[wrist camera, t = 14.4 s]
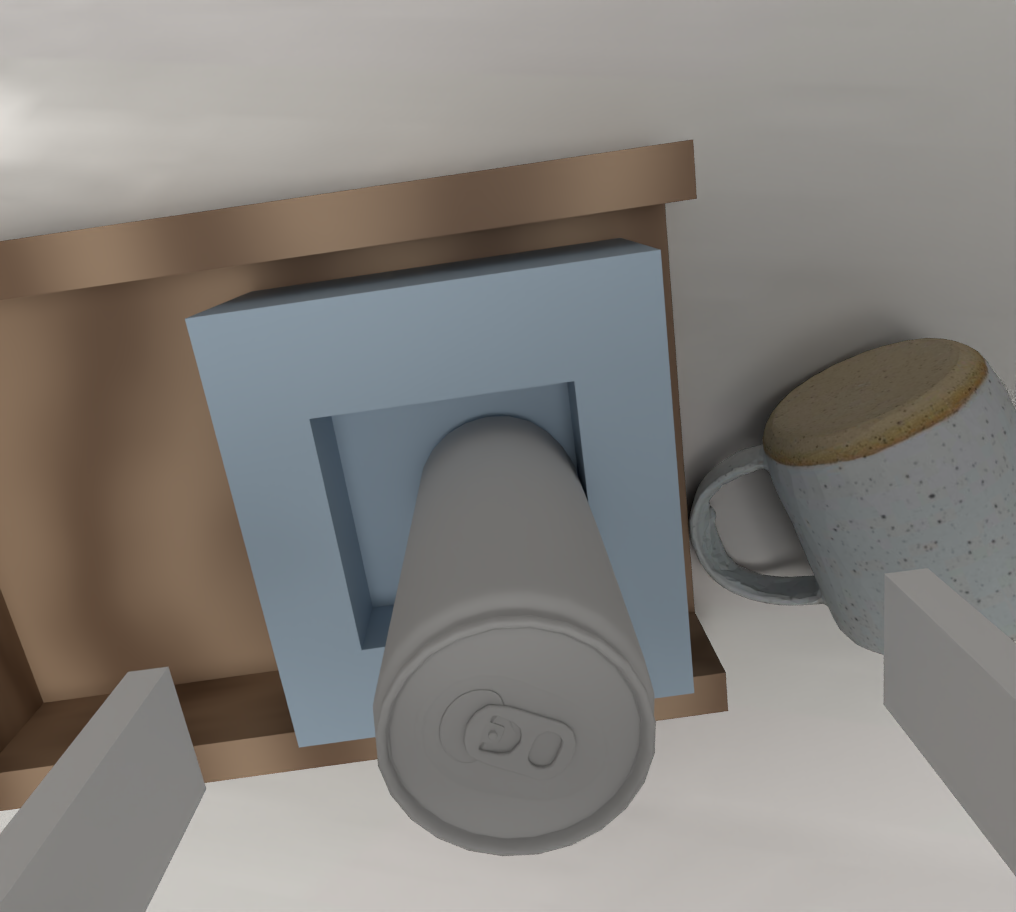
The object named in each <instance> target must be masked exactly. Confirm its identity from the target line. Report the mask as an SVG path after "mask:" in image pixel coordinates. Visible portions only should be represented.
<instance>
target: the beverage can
mask: <svg viewBox="0 0 1016 912" xmlns="http://www.w3.org/2000/svg"><path fill="white" fill-rule="evenodd" d="M654 697H655V694H654V690H653V687H652V683H651V680H650V676H649V673H648V669H647V666H646V663H645V659H644V656H643V653H642V650H641V648H640V645H639V642H638V639H637V636H636V633H635V631H634V628H633V625H632V622H631V619H630V616H629V614H628V611H627V608H626V605H625V602H624V599H623V597H622V594H621V591H620V588H619V585H618V582H617V580H616V577H615V574H614V571H613V568H612V565H611V563H610V560H609V557H608V554H607V552H606V549H605V546H604V543H603V541H602V538H601V535H600V532H599V530H598V527H597V524H596V522H595V519H594V517H593V514H592V511H591V509H590V506H589V504H588V501H587V498H586V496H585V493H584V491H583V488H582V485H581V483H580V480H579V477H578V475H577V472H576V469H575V467H574V464H573V463H572V461H571V459H570V458H569V456H568V455H567V453H566V451H565V450H564V448H563V447H562V446H561V445H560V444H559V443H558V442H557V441H556V440H555V439H554V438H553V437H552V436H551V435H550V434H549V433H548V432H547V431H545V430H543V429H542V428H540V427H539V426H537V425H535V424H534V423H532V422H530V421H527V420H523V419H519V418H515V417H511V416H494V417H484V418H481V419H478V420H474V421H471V422H468V423H465V424H463V425H462V426H460V427H458V428H457V429H455V430H454V431H452V432H450V433H449V434H447V435H446V436H445V437H444V438H443V439H442V440H441V442H440V443H439V444H438V445H437V446H436V447H435V448H434V449H433V450H432V452H431V454H430V456H429V458H428V460H427V462H426V464H425V465H424V467H423V471H422V476H421V481H420V486H419V490H418V495H417V500H416V504H415V509H414V514H413V518H412V523H411V528H410V532H409V537H408V542H407V547H406V551H405V556H404V561H403V565H402V570H401V575H400V579H399V584H398V589H397V594H396V598H395V603H394V608H393V612H392V617H391V622H390V626H389V631H388V636H387V640H386V645H385V650H384V655H383V659H382V664H381V669H380V673H379V678H378V683H377V688H376V692H375V697H374V702H373V715H374V726H375V737H376V748H377V758H378V767H379V769H380V771H381V773H382V776H383V778H384V780H385V783H386V785H387V787H388V790H389V792H390V794H391V796H392V797H393V798H394V799H395V801H396V802H397V803H398V804H399V805H400V807H401V808H402V809H403V810H404V811H405V813H406V814H407V815H408V816H409V817H410V819H411V820H413V821H414V822H416V823H417V824H418V825H420V826H421V827H423V828H424V829H425V830H427V831H428V832H430V833H431V834H433V835H434V836H435V837H437V838H439V839H441V840H444V841H446V842H449V843H451V844H454V845H456V846H459V847H461V848H464V849H466V850H469V851H474V852H481V853H487V854H493V855H500V856H514V855H534V854H541V853H544V852H548V851H552V850H556V849H559V848H563V847H567V846H571V845H573V844H575V843H577V842H579V841H581V840H582V839H584V838H586V837H588V836H590V835H592V834H594V833H596V832H598V831H600V830H602V829H603V828H604V827H605V826H606V825H607V824H609V823H610V822H611V821H612V820H613V819H614V818H616V817H617V816H618V815H619V814H620V813H622V812H623V811H624V810H625V809H626V808H627V806H628V805H629V804H630V802H631V801H632V799H633V798H634V797H635V795H636V794H637V792H638V791H639V789H640V788H641V787H642V785H643V784H644V782H645V779H646V776H647V773H648V771H649V768H650V765H651V762H652V759H653V756H654V753H655V726H656V721H655V717H654Z"/></svg>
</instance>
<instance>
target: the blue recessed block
mask: <svg viewBox="0 0 1016 912" xmlns="http://www.w3.org/2000/svg"><path fill="white" fill-rule="evenodd" d="M185 321H186V325H187V329H188V333H189V336H190V340H191V344H192V348H193V351H194V355H195V359H196V363H197V366H198V370H199V374H200V378H201V381H202V385H203V389H204V393H205V396H206V400H207V404H208V408H209V411H210V415H211V419H212V423H213V426H214V430H215V434H216V438H217V441H218V445H219V449H220V453H221V456H222V460H223V464H224V468H225V471H226V475H227V479H228V483H229V486H230V490H231V494H232V498H233V502H234V505H235V509H236V513H237V517H238V520H239V524H240V528H241V532H242V535H243V539H244V543H245V547H246V550H247V554H248V558H249V562H250V565H251V569H252V573H253V577H254V580H255V584H256V588H257V592H258V595H259V599H260V603H261V607H262V610H263V614H264V618H265V622H266V625H267V629H268V633H269V637H270V640H271V644H272V648H273V652H274V656H275V659H276V663H277V667H278V671H279V674H280V678H281V682H282V686H283V689H284V693H285V697H286V701H287V704H288V708H289V712H290V716H291V719H292V723H293V727H294V731H295V734H296V738H297V742H298V746H299V747H306V746H314V745H321V744H328V743H336V742H343V741H350V740H357V739H365V738H372V737H375V726H374V715H373V702H374V697H375V692H376V688H377V683H378V678H379V673H380V669H381V664H382V659H383V655H384V650H385V645H386V640H387V636H388V631H389V626H390V622H391V617H392V612H393V608H394V603H395V598H396V594H397V589H398V584H399V579H400V575H401V570H402V565H403V561H404V556H405V551H406V547H407V542H408V537H409V532H410V528H411V523H412V518H413V514H414V509H415V504H416V500H417V495H418V490H419V486H420V481H421V476H422V471H423V467H424V465H425V464H426V462H427V460H428V458H429V456H430V454H431V452H432V450H433V449H434V448H435V447H436V446H437V445H438V444H439V443H440V442H441V440H442V439H443V438H444V437H445V436H446V435H447V434H449V433H450V432H452V431H454V430H455V429H457V428H458V427H460V426H462V425H463V424H465V423H468V422H471V421H474V420H478V419H481V418H484V417H494V416H511V417H515V418H519V419H523V420H527V421H530V422H532V423H534V424H535V425H537V426H539V427H540V428H542V429H543V430H545V431H547V432H548V433H549V434H550V435H551V436H552V437H553V438H554V439H555V440H556V441H557V442H558V443H559V444H560V445H561V446H562V447H563V448H564V450H565V451H566V453H567V455H568V456H569V458H570V459H571V461H572V463H573V464H574V467H575V469H576V472H577V475H578V477H579V480H580V483H581V485H582V488H583V491H584V493H585V496H586V498H587V501H588V504H589V506H590V509H591V511H592V514H593V517H594V519H595V522H596V524H597V527H598V530H599V532H600V535H601V538H602V541H603V543H604V546H605V549H606V552H607V554H608V557H609V560H610V563H611V565H612V568H613V571H614V574H615V577H616V580H617V582H618V585H619V588H620V591H621V594H622V597H623V599H624V602H625V605H626V608H627V611H628V614H629V616H630V619H631V622H632V625H633V628H634V631H635V633H636V636H637V639H638V642H639V645H640V648H641V650H642V653H643V656H644V659H645V663H646V666H647V669H648V673H649V676H650V680H651V683H652V687H653V690H654V694H655V697H654V699H655V698H662V697H669V696H677V695H684V694H691V693H694V681H693V668H692V655H691V642H690V629H689V616H688V603H687V589H686V576H685V563H684V550H683V537H682V524H681V511H680V498H679V484H678V471H677V458H676V445H675V432H674V419H673V406H672V393H671V379H670V366H669V353H668V340H667V327H666V314H665V301H664V287H663V274H662V261H661V250H660V249H657V248H653V247H650V246H647V245H643V244H640V243H636V242H633V241H630V240H626V239H623V238H615V239H608V240H602V241H595V242H588V243H581V244H574V245H567V246H560V247H553V248H547V249H540V250H533V251H526V252H519V253H512V254H505V255H498V256H492V257H485V258H478V259H471V260H464V261H457V262H450V263H443V264H437V265H430V266H423V267H416V268H409V269H402V270H395V271H388V272H382V273H375V274H368V275H361V276H354V277H347V278H340V279H334V280H327V281H320V282H313V283H306V284H299V285H292V286H285V287H279V288H272V289H265V290H258V291H251V292H249V293H246V294H244V295H241V296H239V297H236V298H234V299H232V300H229V301H227V302H224V303H222V304H219V305H217V306H215V307H212V308H210V309H207V310H205V311H202V312H200V313H198V314H195V315H193V316H190V317H188V318H185Z"/></svg>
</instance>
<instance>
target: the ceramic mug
mask: <svg viewBox="0 0 1016 912" xmlns="http://www.w3.org/2000/svg"><path fill="white" fill-rule="evenodd" d="M762 439H763V444H762V445H758V446H755V447H752V448H747V449H743V450H741V451H738V452H736V453H735V454H733V455H731V456H730V457H728V458H727V459H725V460H724V461H722V462H720V463H719V464H717V465H716V466H715V467H714V468H713V469H712V470H711V471H710V472H709V473H708V474H707V475H706V476H705V477H704V479H703V480H702V482H701V483H700V485H699V486H698V489H697V491H696V494H695V497H694V501H693V505H692V509H691V513H690V520H689V527H690V536H691V540H692V544H693V547H694V549H695V551H696V554H697V556H698V559H699V561H700V563H701V564H702V566H703V567H704V569H705V570H706V571H707V573H708V574H709V575H710V576H711V577H712V578H713V579H714V580H715V581H716V582H717V583H718V584H720V585H721V586H722V587H724V588H726V589H727V590H729V591H731V592H733V593H735V594H738V595H740V596H742V597H745V598H748V599H751V600H755V601H759V602H763V603H769V604H777V605H811V604H825V605H827V606H828V607H829V609H830V611H831V614H832V616H833V618H834V620H835V622H836V624H837V625H838V627H839V629H840V630H841V631H842V632H843V633H844V634H845V635H847V636H848V637H849V638H850V639H851V640H852V641H853V642H854V643H856V644H857V645H859V646H861V647H864V648H866V649H868V650H871V651H874V652H877V653H880V654H883V655H884V575H885V574H886V573H894V572H901V571H909V570H917V569H924V568H928V569H929V570H930V571H932V572H933V573H934V574H935V575H936V576H937V577H939V578H940V579H941V580H942V581H943V582H944V583H946V584H947V585H948V586H949V587H950V588H952V589H953V590H954V591H955V592H956V593H957V594H959V595H960V596H961V597H962V598H963V599H964V600H966V601H967V602H968V603H969V604H970V605H971V606H973V607H974V608H975V609H976V610H977V611H979V612H980V613H981V614H982V615H983V616H984V617H986V618H987V619H988V620H989V621H990V622H991V623H993V624H994V625H995V626H996V627H997V628H998V629H1000V630H1001V631H1002V632H1003V633H1004V634H1006V635H1007V636H1008V637H1009V638H1010V639H1011V640H1013V641H1016V410H1015V408H1014V406H1013V403H1012V401H1011V399H1010V397H1009V394H1008V392H1007V390H1006V389H1005V387H1004V385H1003V384H1002V382H1001V380H1000V379H999V378H998V376H997V375H996V374H995V372H994V371H993V369H992V368H991V366H990V365H989V363H988V362H987V361H986V360H985V359H984V358H983V357H982V356H981V355H980V353H979V352H978V351H976V350H974V349H973V348H971V347H969V346H967V345H964V344H962V343H959V342H956V341H952V340H947V339H936V338H923V339H915V340H907V341H902V342H898V343H894V344H889V345H885V346H881V347H878V348H875V349H872V350H869V351H866V352H863V353H861V354H858V355H856V356H854V357H851V358H849V359H847V360H844V361H842V362H840V363H837V364H835V365H833V366H831V367H829V368H828V369H826V370H824V371H822V372H820V373H819V374H817V375H815V376H813V377H811V378H810V379H808V380H807V381H805V382H804V383H803V384H801V385H800V386H798V387H797V388H795V389H794V390H792V391H791V392H790V393H789V394H788V395H787V396H786V397H785V398H784V399H783V400H782V401H781V402H780V403H779V404H778V405H777V407H776V408H775V409H774V411H773V412H772V413H771V415H770V417H769V419H768V421H767V423H766V426H765V430H764V434H763V438H762ZM757 469H766V470H767V471H769V473H770V476H771V478H772V481H773V484H774V487H775V489H776V491H777V493H778V496H779V498H780V500H781V502H782V504H783V506H784V508H785V510H786V512H787V514H788V515H789V517H790V519H791V521H792V523H793V526H794V528H795V531H796V533H797V535H798V538H799V540H800V543H801V546H802V548H803V550H804V552H805V554H806V557H807V559H808V562H809V564H810V567H811V569H812V571H813V574H814V576H802V577H798V576H797V577H778V576H769V575H762V574H759V573H756V572H753V571H750V570H747V569H745V568H743V567H741V566H739V565H737V564H736V563H734V562H733V560H732V559H731V558H730V557H729V556H728V555H727V554H726V553H725V550H724V547H723V545H722V542H721V540H720V538H719V535H718V533H717V530H716V527H715V523H714V520H715V518H716V513H715V511H714V509H713V508H712V507H711V506H710V503H709V500H710V499H711V497H712V496H713V495H714V494H715V493H716V492H717V491H718V490H719V489H720V487H721V486H722V485H724V484H727V483H728V482H730V481H732V480H734V479H736V478H738V477H739V476H741V475H743V474H749V473H751V472H753V471H755V470H757Z"/></svg>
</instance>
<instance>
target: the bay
mask: <svg viewBox="0 0 1016 912" xmlns="http://www.w3.org/2000/svg"><path fill="white" fill-rule="evenodd" d="M690 199H697V195H696V179H695V163H694V146H693V140H687V141H680V142H673V143H666V144H659V145H653V146H646V147H639V148H632V149H625V150H619V151H612V152H605V153H598V154H591V155H585V156H578V157H571V158H564V159H557V160H551V161H544V162H537V163H530V164H523V165H516V166H510V167H503V168H496V169H489V170H482V171H476V172H469V173H462V174H455V175H448V176H442V177H435V178H428V179H421V180H414V181H408V182H401V183H394V184H387V185H380V186H374V187H367V188H360V189H353V190H346V191H340V192H333V193H326V194H319V195H312V196H305V197H299V198H292V199H285V200H278V201H271V202H265V203H258V204H251V205H244V206H237V207H231V208H224V209H217V210H210V211H203V212H197V213H190V214H183V215H176V216H169V217H163V218H156V219H149V220H142V221H135V222H129V223H122V224H115V225H108V226H101V227H94V228H88V229H81V230H74V231H67V232H60V233H54V234H47V235H40V236H33V237H26V238H20V239H13V240H6V241H0V811H4V810H11V809H18V808H21V807H22V806H23V804H24V803H25V802H26V801H27V799H28V798H29V797H30V796H31V794H32V793H33V792H34V790H35V789H36V788H37V787H38V785H39V784H40V783H41V782H42V780H43V779H44V778H45V776H46V775H47V774H48V773H49V771H50V770H51V769H52V768H53V766H54V765H55V764H56V763H57V761H58V760H59V759H60V757H61V756H62V755H63V754H64V752H65V751H66V750H67V749H68V747H69V746H70V745H71V743H72V742H73V741H74V740H75V738H76V737H77V736H78V735H79V733H80V732H81V731H82V729H83V728H84V727H85V726H86V724H87V723H88V722H89V721H90V719H91V718H92V717H93V716H94V714H95V713H96V712H97V710H98V709H99V708H100V707H101V705H102V704H103V703H104V702H105V700H106V699H107V698H108V696H109V695H110V694H111V693H112V691H113V690H114V689H115V688H116V686H117V685H118V684H119V683H120V681H121V680H122V679H123V677H124V676H125V675H126V674H127V672H131V671H139V670H147V669H154V668H162V667H169V670H170V673H171V677H172V680H173V683H174V686H175V689H176V693H177V696H178V699H179V702H180V706H181V709H182V712H183V715H184V718H185V722H186V725H187V728H188V731H189V735H190V738H191V741H192V744H193V747H194V751H195V754H196V757H197V760H198V764H199V767H200V770H201V773H202V776H203V780H204V783H207V782H215V781H222V780H229V779H236V778H244V777H251V776H258V775H266V774H273V773H280V772H287V771H295V770H302V769H309V768H316V767H324V766H331V765H338V764H346V763H353V762H360V761H367V760H375V759H378V758H377V748H376V737H372V738H365V739H357V740H350V741H343V742H336V743H328V744H321V745H314V746H306V747H299V746H298V742H297V738H296V734H295V731H294V727H293V723H292V719H291V716H290V712H289V708H288V704H287V701H286V697H285V693H284V689H283V686H282V682H281V678H280V674H279V671H278V667H277V663H276V659H275V656H274V652H273V648H272V644H271V640H270V637H269V633H268V629H267V625H266V622H265V618H264V614H263V610H262V607H261V603H260V599H259V595H258V592H257V588H256V584H255V580H254V577H253V573H252V569H251V565H250V562H249V558H248V554H247V550H246V547H245V543H244V539H243V535H242V532H241V528H240V524H239V520H238V517H237V513H236V509H235V505H234V502H233V498H232V494H231V490H230V486H229V483H228V479H227V475H226V471H225V468H224V464H223V460H222V456H221V453H220V449H219V445H218V441H217V438H216V434H215V430H214V426H213V423H212V419H211V415H210V411H209V408H208V404H207V400H206V396H205V393H204V389H203V385H202V381H201V378H200V374H199V370H198V366H197V363H196V359H195V355H194V351H193V348H192V344H191V340H190V336H189V333H188V329H187V325H186V321H185V318H188V317H190V316H193V315H195V314H198V313H200V312H202V311H205V310H207V309H210V308H212V307H215V306H217V305H219V304H222V303H224V302H227V301H229V300H232V299H234V298H236V297H239V296H241V295H244V294H246V293H249V292H251V291H258V290H265V289H272V288H279V287H285V286H292V285H299V284H306V283H313V282H320V281H327V280H334V279H340V278H347V277H354V276H361V275H368V274H375V273H382V272H388V271H395V270H402V269H409V268H416V267H423V266H430V265H437V264H443V263H450V262H457V261H464V260H471V259H478V258H485V257H492V256H498V255H505V254H512V253H519V252H526V251H533V250H540V249H547V248H553V247H560V246H567V245H574V244H581V243H588V242H595V241H602V240H608V239H615V238H623V239H626V240H630V241H633V242H636V243H640V244H643V245H647V246H650V247H653V248H657V249H660V250H661V261H662V274H663V287H664V301H665V314H666V327H667V340H668V353H669V366H670V379H671V393H672V406H673V419H674V432H675V445H676V458H677V471H678V484H679V498H680V511H681V524H682V537H683V550H684V563H685V576H686V589H687V603H688V616H689V629H690V642H691V655H692V668H693V681H694V693H691V694H684V695H677V696H669V697H662V698H655V699H654V717H655V721H658V720H666V719H673V718H680V717H688V716H695V715H702V714H709V713H717V712H724V711H728V703H727V687H726V672H725V670H724V668H723V667H722V665H721V663H720V661H719V659H718V657H717V655H716V653H715V651H714V649H713V647H712V645H711V643H710V641H709V639H708V637H707V635H706V633H705V631H704V629H703V628H702V626H701V624H700V622H699V620H698V618H697V616H696V614H695V610H694V596H693V582H692V569H691V555H690V542H689V528H688V514H687V501H686V487H685V473H684V460H683V446H682V432H681V419H680V405H679V391H678V378H677V364H676V351H675V337H674V323H673V310H672V296H671V282H670V269H669V255H668V241H667V228H666V214H665V203H670V202H677V201H683V200H690Z"/></svg>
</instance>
